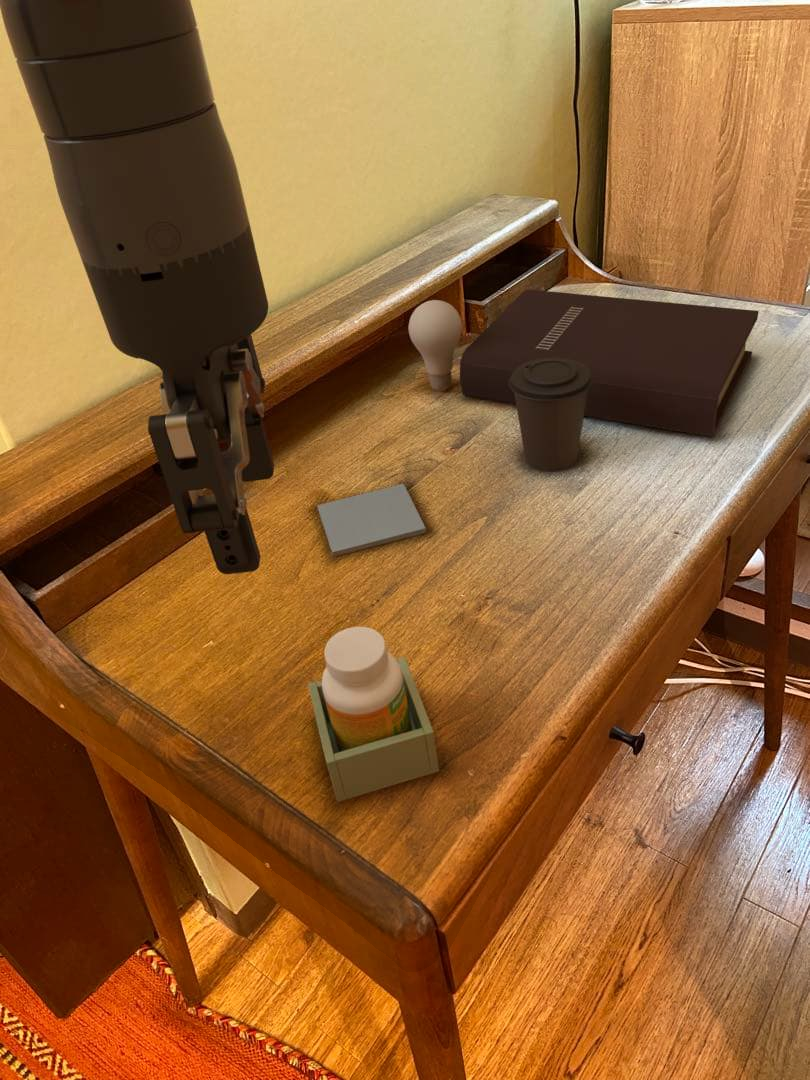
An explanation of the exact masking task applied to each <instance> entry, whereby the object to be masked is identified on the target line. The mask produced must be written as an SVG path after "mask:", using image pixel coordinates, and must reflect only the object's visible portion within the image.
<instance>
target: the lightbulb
mask: <svg viewBox="0 0 810 1080" xmlns="http://www.w3.org/2000/svg"><path fill="white" fill-rule="evenodd" d="M462 333H463V322H462V318H461V316H460V313H459V312H458V310H456V308H455V307H454V306H453V305H452V304H450V303H449V302H446V301H444V300H439V299H432V300H428V301H425V302H423V303H421V304H420V305H419V306H417V307H416V308H415V309H414V311H413V312H412V314H411V315H410V318H409V322H408V334H409V338H410V340H411V342H412V344H413V345H414V347H415V348H416V350H417V351H418V352H419V354H420V355H421V358H422V359H423V362H424V365H425V371H426V373H428V378H429V384H430V387H431V389H433V390H436V391H438V392H444V391H446V390H447V389H448V388H450V387H451V385H452V370H453V365H454V364H453V362H454V361H453V359H454V354H455V350H456V349H457V346H458V344H459V342H460V339H461V336H462Z"/></svg>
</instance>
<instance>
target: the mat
mask: <svg viewBox="0 0 810 1080" xmlns="http://www.w3.org/2000/svg"><path fill="white" fill-rule="evenodd" d="M316 507H317V510H318V513H319V517H320V520H321V524H322V526H323V529H324V532H325V536H326V538H327V542H328V544H329V548H330V551H331V554H332V557H334V558H335V557H338V556H342V555H347V554H351V553H354V552H358V551H362V550H365V549H369V548H373V547H378V546H381V545H385V544H389V543H392V542H396V541H401V540H405V539H407V538H411V537H415V536H419V535H424V534H427V527H426V526H425V524H424V522H423V520H422V517H421V515H420V513H419V512H418V509H417V507H416V505H415V503H414V501H413V499H412V497H411V495H410V493H409V491H408V489H407V487H406V485H405V483H400V484H395V485H391V486H388V487H385V488H380V489H376V490H373V491H369V492H364V493H361V494H357V495H353V496H348V497H345V498H344V497H343V498H340V499H337V500H332V501H329V502H325V503H320V504H317V505H316Z"/></svg>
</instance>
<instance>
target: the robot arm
mask: <svg viewBox="0 0 810 1080" xmlns="http://www.w3.org/2000/svg"><path fill="white" fill-rule="evenodd" d="M0 13H1V18H2V21H3V25H4V28H5V32H6V35H7V38H8V41H9V44H10V46H11V50H12V53H13V55H14V58H15V59H16V60H15V62H16V65H17V68H18V71H19V73H20V76H21V79H22V81H23V84H24V88H25V90H26V93H27V95H28V98H29V100H30V104H31V107H32V110H33V111H34V114H35V117H36V120H37V123H38V126H39V128H40V131H41V133H42V134H44V135H43V140H44V143H45V146H46V149H47V152H48V157H49V161H50V165H51V169H52V176H53V179H54V183H55V187H56V191H57V196H58V198H59V201H60V204H61V207H62V210H63V213H64V215H65V218H66V221H67V224H68V226H69V229H70V232H71V235H72V237H73V240H74V243H75V246H76V248H77V251H78V254H79V257H80V260H81V262H82V265H83V268H84V270H85V274H86V275H87V279H88V281H89V284H90V287H91V290H92V293H93V295H94V297H95V300H96V303H97V305H98V308H99V311H100V315H101V316H102V317H101V318H102V319H103V322H104V325H105V327H106V331H107V334H108V336H109V339H110V341H111V343H112V345H113V346H114V347H115V348H116V349H117V350H118V351H120V352H121V353H122V354H124V355H126V356H128V357H131V358H134V359H137V360H138V359H140V360H143V361H146V362H149V363H151V364H152V365H154V366H156V367H158V368H159V370H160V371H161V372H162V374H161V377H162V378H161V379H162V381H160V383H159V396H160V404H161V405H160V406H161V410H162V412H163V413H164V414H155V415H150V416H149V417H148V422H147V432H148V435H149V437H150V440H151V442H152V443H151V444H152V446H153V448H154V452H155V455H156V457H157V460H158V463H159V465H160V466H159V467H160V470H161V473H162V475H163V478H164V482H165V484H166V487H167V491H168V494H169V496H170V499H171V502H172V505H173V508H174V511H175V514H176V517H177V520H178V524H179V526H180V529H181V531H182V533H183V534H184V535H185V534H186V535H187V534H195V533H199V532H204V534H205V536H206V540H207V543H208V545H209V549H210V551H211V555H212V557H213V561H214V564H215V566H216V569H217V571H218V572H220V573H221V574H223V575H233V574H234V575H235V574H243V573H251V572H255V571H257V570H258V569H259V567H260V562H261V553H260V549H259V546H258V541H257V539H256V536H255V532H254V529H253V525H252V522H251V519H250V516H249V512H248V509H247V499H246V497H245V492H244V483H243V482H245V483H248V482H249V483H250V482H256V481H257V482H258V481H263V480H270V479H271V478H272V477H273V476H274V470H275V463H274V460H273V456H272V451H271V448H270V444H269V441H268V436H267V433H266V428H265V425H264V422H263V421H264V420H263V418H264V415H265V411H266V408H265V407H266V406H265V403H264V402H263V399H262V394H264V393H265V387H266V381H265V378H264V377H263V373H262V370H261V367H260V363H259V359H258V355H257V352H256V348H255V344H254V340H253V336H252V334H253V333H255V332H256V331H257V330H258V329H259V328H260V327H261V326H262V325H263V323H264V322H265V320H266V318H267V315H268V313H269V301H268V296H267V292H266V288H265V284H264V280H263V277H262V276H263V275H262V271H261V267H260V263H259V258H258V253H257V248H256V245H255V240H254V237H253V231H252V228H251V227H252V226H251V224H250V219H249V215H248V210H247V206H246V202H245V197H244V193H243V189H242V184H241V180H240V176H239V171H238V168H237V164H236V160H235V156H234V154H233V150H232V148H231V144H230V142H229V140H228V137H227V135H226V132H225V129H224V127H223V124H222V121H221V118H220V114H219V111H218V107H217V103H216V102H215V95H214V91H213V87H212V83H211V79H210V74H209V69H208V66H207V61H206V57H205V53H204V48H203V45H202V44H203V43H202V39H201V36H200V32H199V28H197V27H198V24H197V20H196V19H197V18H196V16H195V12H194V8H193V5H192V1H191V0H0ZM222 443H226V445H227V447H228V448H227V449H226V450H224V451H221V450H220V446H219V444H222ZM205 490H210V491H211V492H212V493H213V494H212V493H211V494H205Z"/></svg>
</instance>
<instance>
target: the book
mask: <svg viewBox="0 0 810 1080" xmlns="http://www.w3.org/2000/svg"><path fill="white" fill-rule="evenodd" d="M758 319H759V310H756V309H755V310H754V309H745V308H744V309H743V308H732V307H722V306H711V305H701V304H700V305H699V304H690V303H689V304H688V303H678V302H668V301H667V302H666V301H657V300H647V299H635V298H626V297H625V298H624V297H613V296H602V295H593V294H582V293H571V292H559V291H550V290H540V289H539V290H538V289H530V288H529V289H528V288H524V290H523V291H522V292H521V293H520V294H519V295H518V296H517V297H516V298H515V299H514V300H513V301H512V302H511V303H510V304H509V305H508V306H507V307H506V308H505V309H504V310H503V311H502V312H501V313H500V314H499V315H498V316H497V317H496V318H495V319H494V320H493V321H492V322H491V323H490V324H489V325H488V326H487V327H486V328H485V329H484V330H483V331H482V332H481V333H480V334H478V336H477V337H475V339H474V340H473V341H472V342H471V343H470V344H469V345H468V346H467V347H466V348H465V349H464V351H463V353H462V355H461V359H460V361H459V384H460V389H461V394H462V395H463V396H464V397H466V398H469V399H470V398H471V399H476V400H481V401H488V402H495V403H500V404H501V403H502V404H507V405H513V406H516V400H515V394H514V392H513V391H512V390H511V388H510V387H509V378H510V377H511V375H512V373H513V371H514V370H515V369H516V368H517V367H519V366H520V365H522V364H524V363H527V362H529V361H533V360H536V359H542V358H566V359H571V360H575V361H578V362H580V363H582V364H584V365H585V366H586V367H587V368H588V369H589V371H590V372H591V373H592V376H593V383H592V385H591V387H590V388H589V389H588V391H587V398H586V404H585V411H584V417H588V418H595V419H601V420H607V421H611V422H612V421H613V422H619V423H624V424H630V425H631V424H632V425H638V426H643V427H651V428H655V429H663V430H667V431H675V432H680V433H681V432H682V433H686V434H687V433H688V434H693V435H699V436H705V437H706V436H707V437H711V438H714V437H715V435H716V434H717V432H718V430H719V428H720V426H721V424H722V421H723V420H724V417H725V415H726V413H727V411H728V409H729V407H730V405H731V403H732V400H733V399H734V397H735V394H736V392H737V390H738V388H739V385H740V383H741V382H742V380H743V378H744V375H745V373H746V371H747V369H748V367H749V364H750V362H751V360H752V357H753V351H750V350H746V344H747V341H748V339H749V338H750V335H751V333H752V332H753V329H754V327H755V326H756V325H755V324H756V322H757V321H758Z"/></svg>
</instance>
